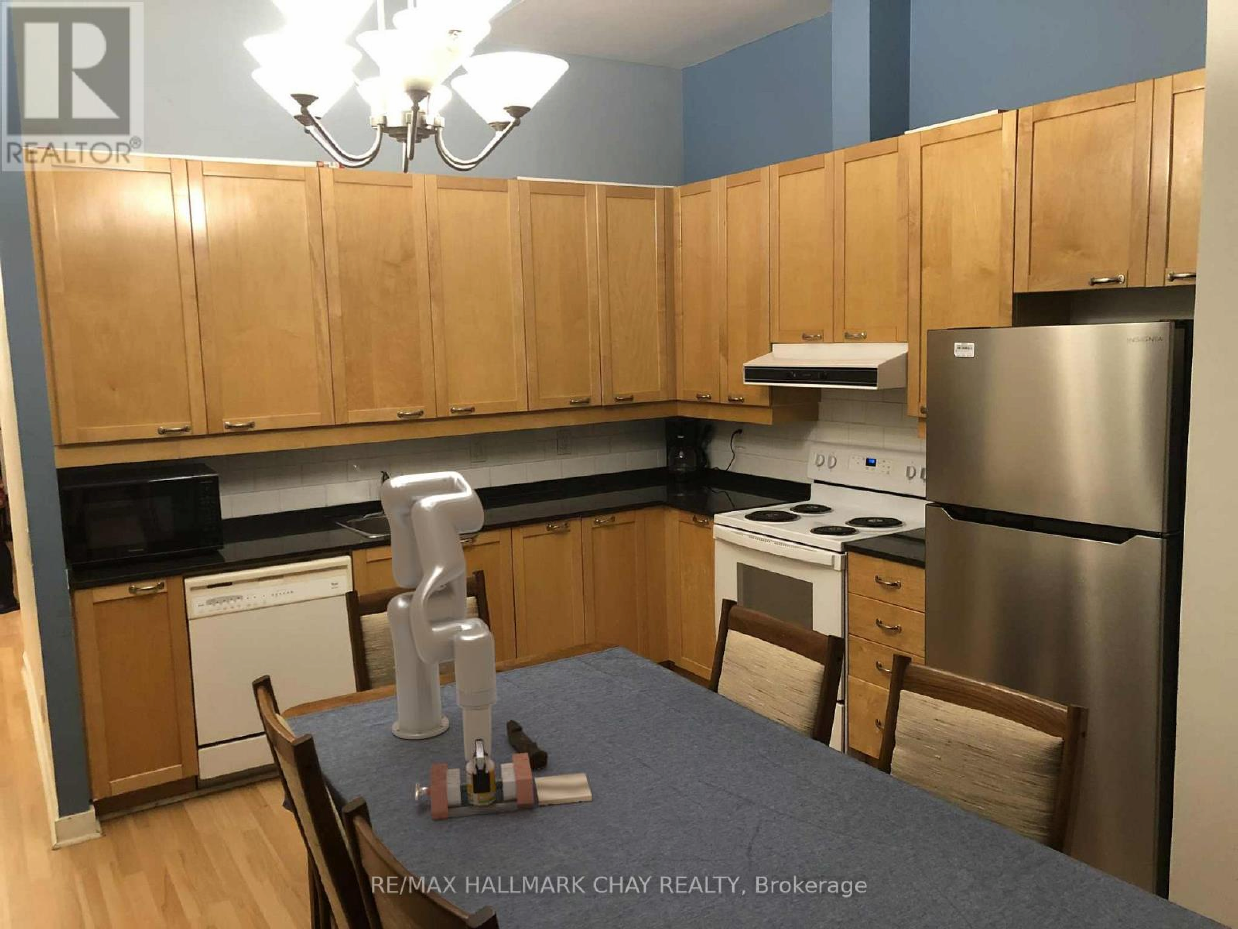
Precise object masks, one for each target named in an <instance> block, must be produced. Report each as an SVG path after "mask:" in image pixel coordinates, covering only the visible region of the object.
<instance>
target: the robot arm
mask: <svg viewBox="0 0 1238 929" xmlns="http://www.w3.org/2000/svg"><path fill="white" fill-rule="evenodd" d="M380 500H381V501H380V502H381V506H382V509H383V512H384V514H385V517H386V519H387V521H388V524H389V527H390V528H389V529H390V545H391V566H392V576H393V580H394V582H395V584H396V585H397V586H398V587H400V588H403V589H414V588H415V591H408V592H403V593H400V594H397V595H396V596H395V595H394V597H392V598H391V599H390V600H389V602H388V603H387V609H386V612H387V620H388V624H389V628H390V633H391V638H392V644H393V646H392V647H393V655H394V657H393V658H394V668H395V669H394V671H395V685H396V687H395V688H396V699H397V713H398V714H397V718H398V719H397V720H396V721H395V722H394V723H393V724H392V726H391V731H392V734H393V735H394V736H396V737H397V738H400V739H404V740H405V739H406V740H424V739H428V738H433V737H436V736H438V735H441V734H442V733H445V731H447V730H448V729H449V726H450V721H449V719H448V717H446V716H445V715H443V714H442V703H441V699H442V698H441V685H440V670H439V669H440V668H439V664H442V663H448V662H452V661H453V662H454V663H453V664H454V675H455V679H454V680H455V693H456V695H455V696H456V706H457V707H458V708H460V709H462V730H463V732H462V733H463V735H462V736H463V748H464V750H463V751H464V759H465V760H466V762H470V760H472V759H473V771H474V772H472V778H473V793H474V794H479V793H489V792H490V791H491V788H490V771H488V759H489V758H490V759H491V756H492V742H493V741H492V730H493V729H492V728H493V727H492V707H493V706H494V705H496V703H498V698H497V697H498V696H497V694H498V693H497V678H496V677H497V674H496V659H495V658H496V654H495V640H494V639H495V638H494V636H493V633H492V632H491V631H490V629H489V626H488V625H487V624H486V623H485V622H484V620H483V619H481V618H478V617H470V618H467V615H468V602H467V600H468V596H467V568H466V567H467V562H466V558H465V553H464V550H463V546H462V541H461V537H460V534H467V533H469V534H470V533H474V532H478V531H480V530H481V528H482V527H483V525H484V521H485V514H484V508H483V505H482V502H481V500H480V497H479V495H478V494H477V492H476V491H475V489H474V487H472V486H471V484H470V483H469V482H468V480H467V479H466V478H465V477H464V476H463V475H462V474H461V473H460V472H458V471H455V470H447V471H445V470H444V471H433V472H427V473H426V472H424V473H411V474H405V475H404V474H403V475H396V476H392V477H390V478H387V479H386V480H385V481H384V482H382V485H381V486H380ZM474 752H475V755H477V756H475V755H474ZM483 754H485V755H484V756H483ZM484 760H485V763H484ZM476 761H477V763H476Z"/></svg>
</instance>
